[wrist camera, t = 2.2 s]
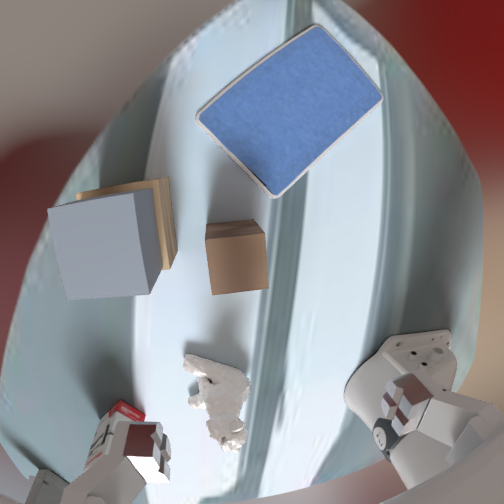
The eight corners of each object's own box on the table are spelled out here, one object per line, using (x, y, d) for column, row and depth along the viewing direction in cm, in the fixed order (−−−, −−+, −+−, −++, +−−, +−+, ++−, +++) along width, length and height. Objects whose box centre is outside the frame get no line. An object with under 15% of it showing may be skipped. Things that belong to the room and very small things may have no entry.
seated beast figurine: (181, 350, 34) (173, 420, 22) (249, 348, 35) (265, 416, 24) (189, 401, 36) (187, 467, 25) (248, 398, 38) (261, 464, 26)
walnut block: (253, 219, 31) (265, 233, 24) (256, 263, 32) (268, 288, 25) (206, 224, 30) (204, 239, 23) (211, 268, 31) (212, 295, 25)
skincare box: (71, 484, 43) (60, 527, 28) (59, 484, 43) (48, 524, 28) (47, 467, 40) (32, 511, 25) (36, 468, 40) (22, 508, 25)
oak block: (168, 177, 28) (157, 178, 22) (177, 250, 30) (170, 269, 25) (99, 188, 27) (76, 193, 22) (111, 258, 30) (91, 277, 24)
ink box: (119, 397, 35) (102, 458, 24) (146, 414, 36) (136, 474, 25) (98, 419, 36) (81, 472, 25) (123, 433, 37) (111, 487, 26)
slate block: (152, 187, 23) (133, 193, 17) (163, 266, 25) (149, 294, 19) (80, 199, 22) (47, 209, 16) (94, 273, 24) (67, 300, 18)
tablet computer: (272, 202, 31) (275, 203, 30) (191, 119, 27) (190, 117, 26) (382, 100, 29) (387, 98, 28) (314, 25, 25) (318, 20, 24)
